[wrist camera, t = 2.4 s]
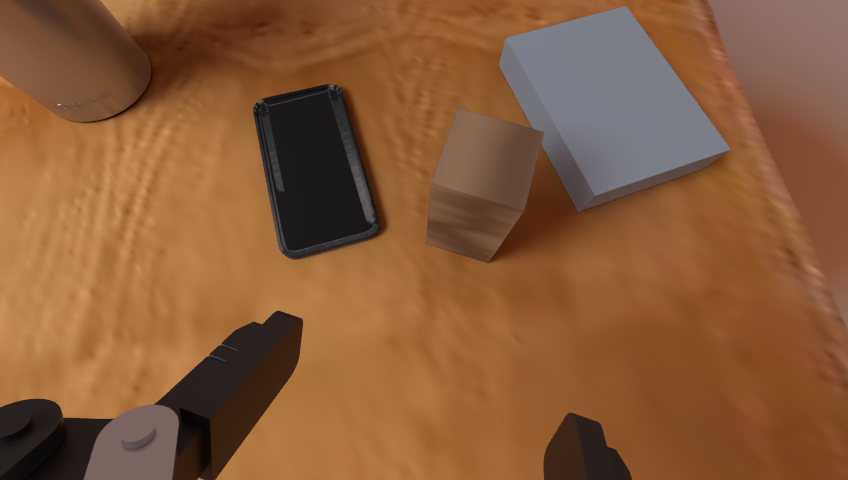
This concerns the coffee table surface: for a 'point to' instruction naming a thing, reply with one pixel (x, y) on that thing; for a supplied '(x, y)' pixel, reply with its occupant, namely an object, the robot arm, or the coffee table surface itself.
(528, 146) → the walnut block
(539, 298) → the coffee table surface
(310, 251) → the phone
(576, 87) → the base board
